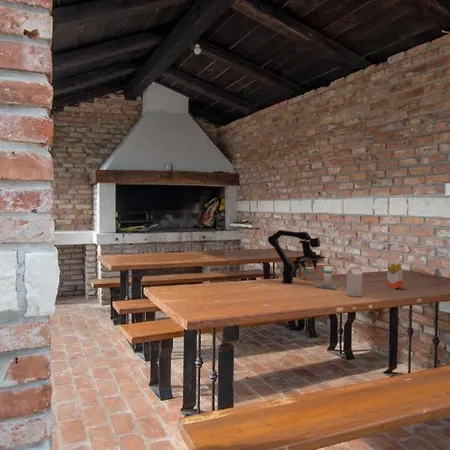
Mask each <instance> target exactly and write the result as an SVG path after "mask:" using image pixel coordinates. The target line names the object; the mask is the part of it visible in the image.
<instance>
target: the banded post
mask: <svg viewBox="0 0 450 450" xmlns="http://www.w3.org/2000/svg"><path fill="white" fill-rule="evenodd" d="M332 274H333V266H324V279H323V280H322V281H323V282H322V284H323V286H326V287H331V285H332Z"/></svg>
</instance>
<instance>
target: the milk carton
mask: <svg viewBox="0 0 450 450" xmlns="http://www.w3.org/2000/svg"><path fill="white" fill-rule="evenodd" d="M346 295H347V296H350V297H353V298H354V297H362V296H363V272H362V270H361V267H360V266H354V267H353V266H350V267H349V269H348V271H347V272H346Z"/></svg>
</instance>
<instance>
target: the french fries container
mask: <svg viewBox="0 0 450 450" xmlns="http://www.w3.org/2000/svg"><path fill="white" fill-rule="evenodd" d="M403 271H404V270H403V267H402V264H401V263H396V262H394V263H393V262H391V263H390V266H387V274H386V284H387V286H388V288H389V287H390V288H389V289H393V288H394V289H393V290H397V289H396V288H399V289H401V287H402V286H403Z"/></svg>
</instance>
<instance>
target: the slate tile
mask: <svg viewBox="0 0 450 450" xmlns="http://www.w3.org/2000/svg"><path fill="white" fill-rule="evenodd" d="M338 286H339V285H336V284H331V287H326V286H323V283H319V284H318V285H317V286H316V289H320V288H321V289H322V290H329V291H330V290H332V291H335V290H336V289H337V288H338Z"/></svg>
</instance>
